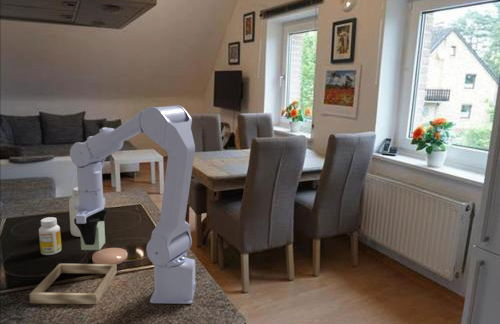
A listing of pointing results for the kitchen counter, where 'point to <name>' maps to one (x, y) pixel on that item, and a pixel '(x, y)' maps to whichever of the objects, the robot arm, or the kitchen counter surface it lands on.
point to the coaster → (109, 256)
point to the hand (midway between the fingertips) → (93, 240)
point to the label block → (98, 238)
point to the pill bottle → (74, 212)
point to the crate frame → (73, 298)
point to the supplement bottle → (49, 236)
